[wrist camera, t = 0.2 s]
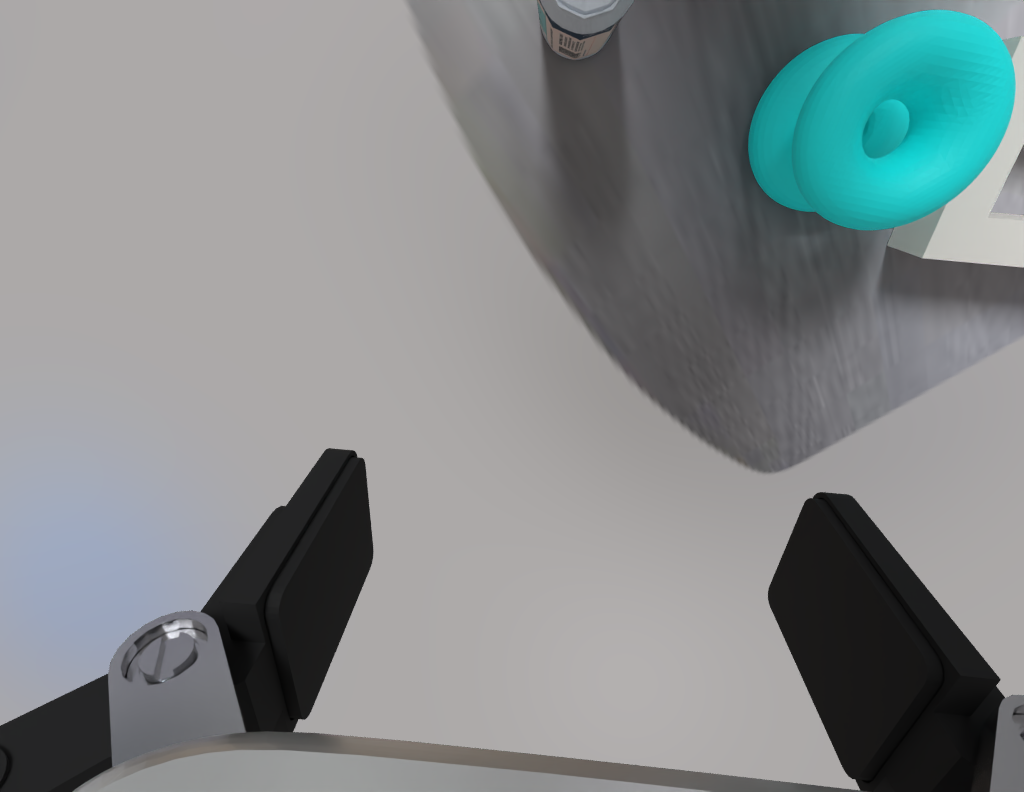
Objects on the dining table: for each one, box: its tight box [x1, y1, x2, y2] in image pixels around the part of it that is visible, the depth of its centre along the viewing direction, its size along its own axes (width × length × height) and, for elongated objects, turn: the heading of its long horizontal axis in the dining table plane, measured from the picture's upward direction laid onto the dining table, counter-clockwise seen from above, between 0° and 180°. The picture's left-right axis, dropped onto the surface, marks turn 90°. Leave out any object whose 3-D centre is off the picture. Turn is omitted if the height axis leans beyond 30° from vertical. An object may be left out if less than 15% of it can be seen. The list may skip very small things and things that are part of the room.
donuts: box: [748, 10, 1016, 230], centre depth 30 cm, size 10×10×10 cm
